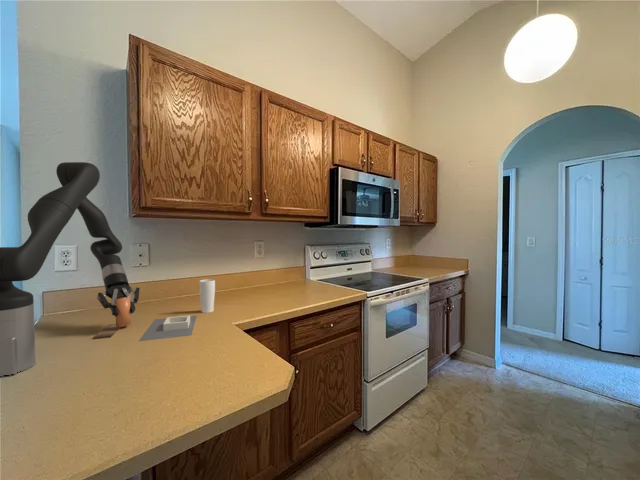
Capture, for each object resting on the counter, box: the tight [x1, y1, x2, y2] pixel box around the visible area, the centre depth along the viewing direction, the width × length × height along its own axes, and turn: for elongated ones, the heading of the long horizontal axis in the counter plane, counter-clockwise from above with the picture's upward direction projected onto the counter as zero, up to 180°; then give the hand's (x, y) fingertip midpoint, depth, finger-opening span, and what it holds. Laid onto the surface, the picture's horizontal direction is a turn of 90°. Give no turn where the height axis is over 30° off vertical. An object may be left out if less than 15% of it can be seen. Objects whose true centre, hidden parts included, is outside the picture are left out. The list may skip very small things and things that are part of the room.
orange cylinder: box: [115, 297, 132, 328], centre depth 106 cm, size 5×5×10 cm
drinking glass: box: [198, 278, 216, 314], centre depth 128 cm, size 7×7×15 cm
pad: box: [93, 323, 122, 340], centre depth 106 cm, size 14×14×1 cm
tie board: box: [138, 315, 197, 342], centre depth 107 cm, size 24×16×4 cm, turn 20°
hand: (124, 313), depth 105 cm, fingers closed on orange cylinder, 4 cm apart
